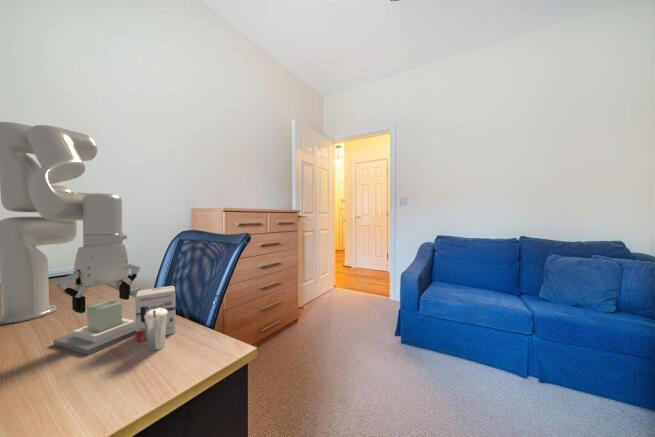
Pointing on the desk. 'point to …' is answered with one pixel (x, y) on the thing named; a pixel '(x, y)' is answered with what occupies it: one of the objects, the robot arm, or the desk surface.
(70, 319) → the desk surface
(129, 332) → the baseplate
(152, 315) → the milkshake
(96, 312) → the sage block
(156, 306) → the ink box
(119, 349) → the desk surface
